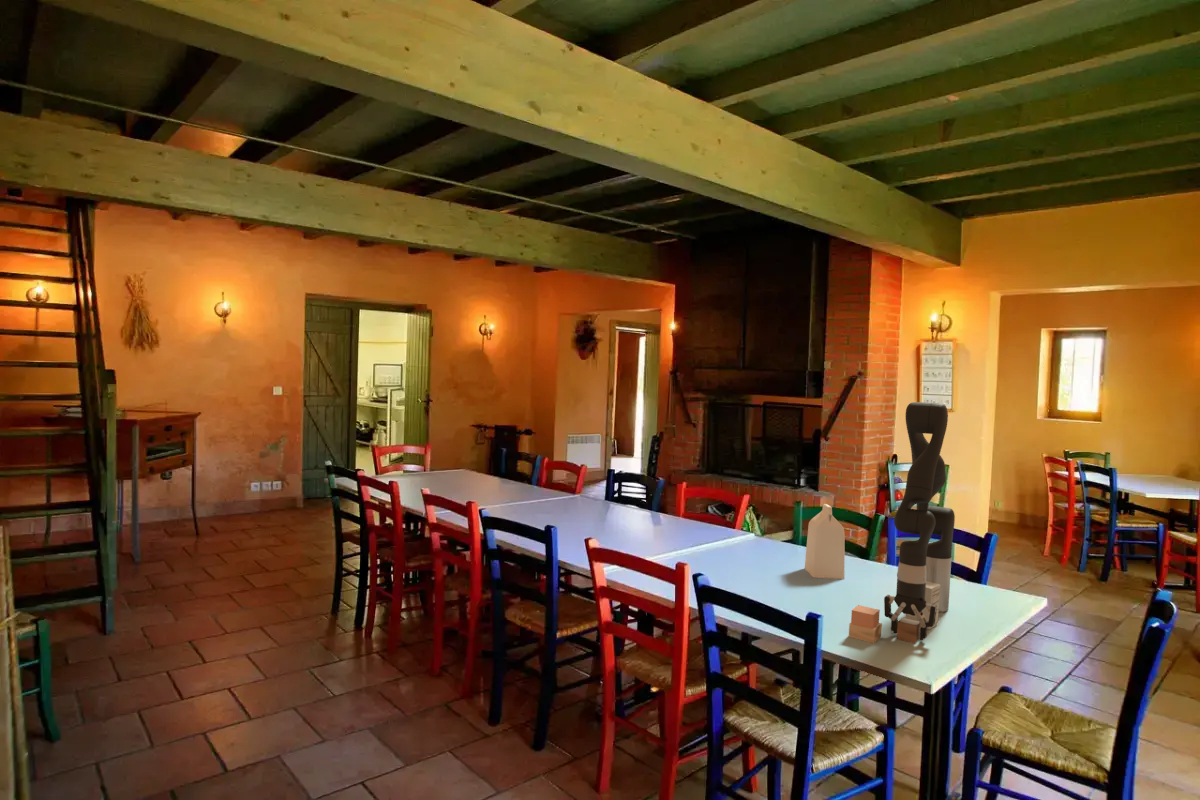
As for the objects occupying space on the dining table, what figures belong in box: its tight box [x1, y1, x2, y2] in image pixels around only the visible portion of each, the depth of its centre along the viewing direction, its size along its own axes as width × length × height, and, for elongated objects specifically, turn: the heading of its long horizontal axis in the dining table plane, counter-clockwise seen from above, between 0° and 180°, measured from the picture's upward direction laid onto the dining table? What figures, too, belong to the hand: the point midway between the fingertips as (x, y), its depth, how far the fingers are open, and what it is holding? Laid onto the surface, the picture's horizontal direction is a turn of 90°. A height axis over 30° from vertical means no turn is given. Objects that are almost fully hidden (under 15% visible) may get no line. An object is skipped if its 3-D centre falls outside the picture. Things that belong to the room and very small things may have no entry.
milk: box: [804, 503, 846, 580], centre depth 264 cm, size 12×12×26 cm
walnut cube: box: [896, 617, 920, 644], centre depth 199 cm, size 5×5×5 cm
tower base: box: [848, 622, 883, 644], centre depth 199 cm, size 7×7×4 cm
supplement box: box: [905, 581, 941, 631], centre depth 212 cm, size 7×7×13 cm
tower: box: [850, 604, 880, 629], centre depth 199 cm, size 6×6×4 cm
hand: (908, 636), depth 199 cm, fingers open, 6 cm apart
